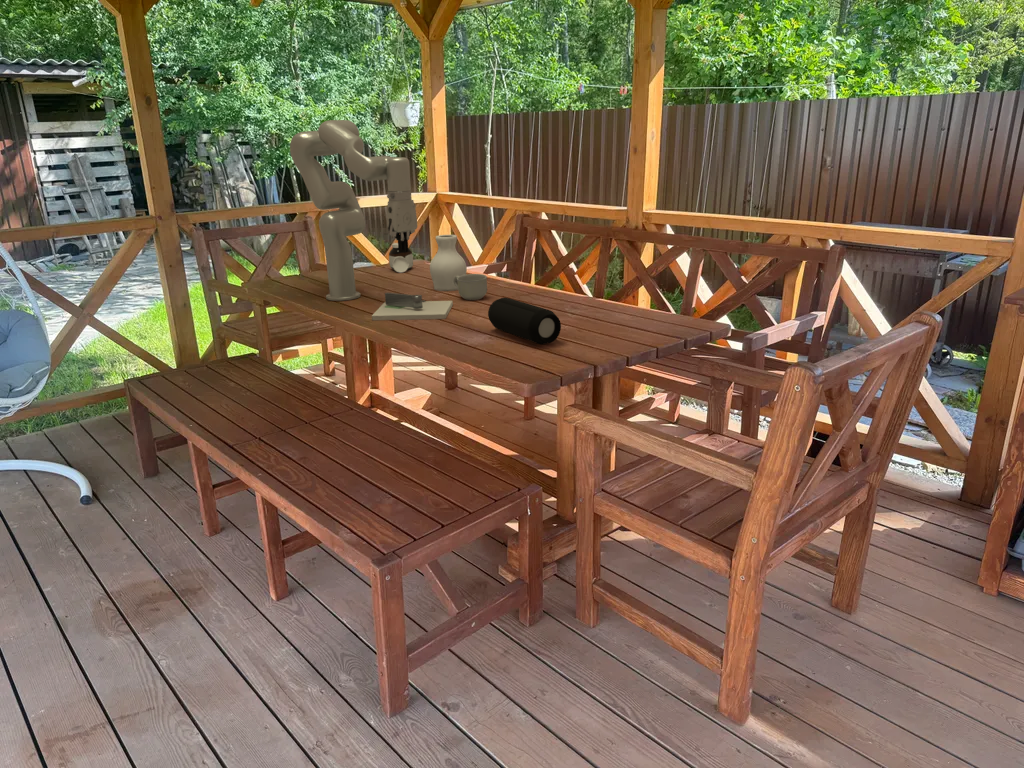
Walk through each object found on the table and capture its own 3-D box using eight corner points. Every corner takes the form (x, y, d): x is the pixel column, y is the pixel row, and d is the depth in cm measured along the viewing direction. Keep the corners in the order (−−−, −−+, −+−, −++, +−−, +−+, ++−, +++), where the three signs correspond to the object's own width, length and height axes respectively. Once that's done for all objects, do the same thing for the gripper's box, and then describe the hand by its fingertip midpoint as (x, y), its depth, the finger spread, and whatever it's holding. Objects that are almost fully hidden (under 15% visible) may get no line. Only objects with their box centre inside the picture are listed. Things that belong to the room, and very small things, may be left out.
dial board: (384, 306, 256) (384, 301, 255) (452, 304, 254) (452, 299, 254) (372, 320, 237) (371, 314, 236) (445, 318, 236) (445, 313, 235)
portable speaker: (563, 343, 205) (563, 308, 202) (535, 349, 200) (534, 314, 197) (513, 325, 225) (512, 294, 222) (486, 331, 220) (484, 298, 217)
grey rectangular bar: (383, 305, 247) (382, 293, 245) (389, 303, 249) (388, 291, 248) (418, 309, 240) (417, 297, 239) (424, 306, 242) (423, 295, 241)
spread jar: (406, 267, 330) (404, 241, 326) (420, 270, 322) (418, 243, 318) (383, 271, 323) (381, 244, 319) (397, 274, 314) (395, 247, 311)
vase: (466, 291, 276) (463, 237, 269) (428, 292, 276) (424, 239, 270) (469, 283, 290) (466, 232, 283) (433, 284, 290) (429, 233, 283)
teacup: (493, 298, 263) (492, 276, 260) (470, 303, 256) (469, 280, 254) (470, 292, 273) (468, 271, 270) (446, 297, 266) (445, 275, 264)
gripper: (391, 199, 233) (395, 256, 239) (423, 195, 244) (426, 250, 250) (375, 197, 237) (379, 254, 243) (408, 194, 248) (411, 248, 254)
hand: (403, 252), depth 247 cm, fingers closed
